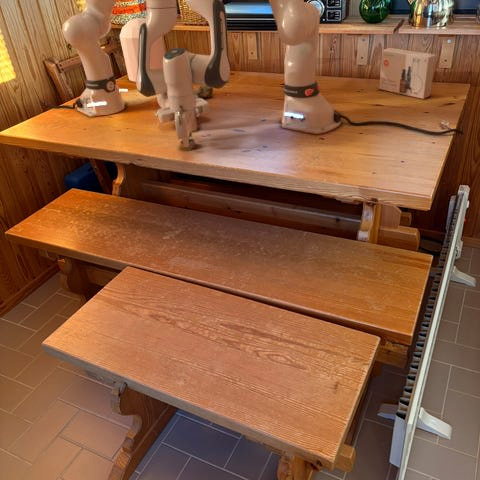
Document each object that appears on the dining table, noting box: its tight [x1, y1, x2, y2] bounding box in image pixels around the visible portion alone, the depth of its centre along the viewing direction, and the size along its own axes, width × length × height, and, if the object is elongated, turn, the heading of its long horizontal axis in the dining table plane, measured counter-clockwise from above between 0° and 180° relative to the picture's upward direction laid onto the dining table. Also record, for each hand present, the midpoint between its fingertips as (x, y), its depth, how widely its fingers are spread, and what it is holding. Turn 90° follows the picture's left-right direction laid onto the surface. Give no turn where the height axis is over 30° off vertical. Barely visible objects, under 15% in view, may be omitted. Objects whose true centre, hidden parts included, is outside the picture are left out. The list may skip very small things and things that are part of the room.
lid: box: [179, 138, 196, 151], centre depth 161 cm, size 5×5×2 cm
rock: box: [193, 85, 214, 99], centre depth 206 cm, size 11×6×10 cm
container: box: [119, 17, 166, 83], centre depth 235 cm, size 21×21×28 cm
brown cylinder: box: [192, 108, 199, 132], centre depth 170 cm, size 4×4×17 cm
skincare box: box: [378, 47, 437, 100], centre depth 184 cm, size 21×6×16 cm, turn 40°
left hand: (190, 116), depth 171 cm, fingers closed on brown cylinder, 4 cm apart
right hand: (188, 141), depth 160 cm, fingers open, 7 cm apart
